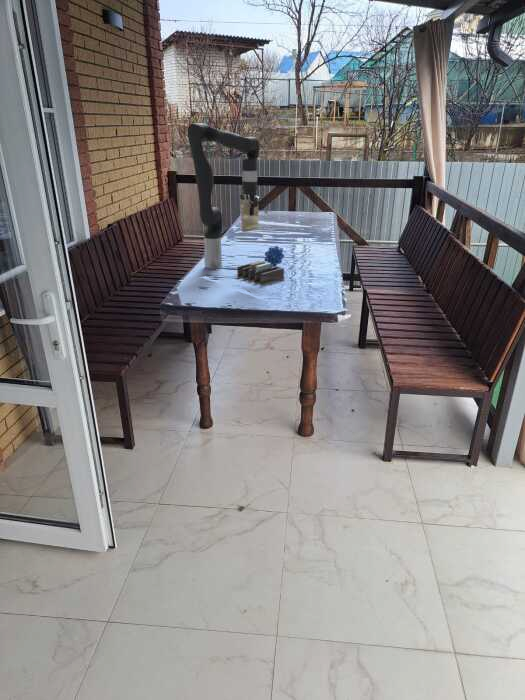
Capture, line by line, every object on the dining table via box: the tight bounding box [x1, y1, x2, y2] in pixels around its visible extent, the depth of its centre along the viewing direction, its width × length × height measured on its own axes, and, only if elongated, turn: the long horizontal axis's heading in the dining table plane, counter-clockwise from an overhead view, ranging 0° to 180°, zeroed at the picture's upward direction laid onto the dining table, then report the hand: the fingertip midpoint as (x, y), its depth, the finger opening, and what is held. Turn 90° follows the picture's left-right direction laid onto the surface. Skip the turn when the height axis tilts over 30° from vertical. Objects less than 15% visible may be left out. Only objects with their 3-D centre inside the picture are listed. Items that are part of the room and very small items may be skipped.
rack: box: [234, 260, 287, 286], centre depth 258 cm, size 22×18×6 cm
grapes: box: [263, 245, 285, 267], centre depth 279 cm, size 12×7×12 cm, turn 75°
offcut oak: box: [249, 260, 266, 270], centre depth 259 cm, size 2×9×7 cm, turn 133°
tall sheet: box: [240, 199, 259, 233], centre depth 253 cm, size 2×10×16 cm, turn 133°
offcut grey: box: [256, 262, 271, 272], centre depth 256 cm, size 2×9×7 cm, turn 133°
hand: (250, 215), depth 253 cm, fingers closed on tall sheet, 2 cm apart
